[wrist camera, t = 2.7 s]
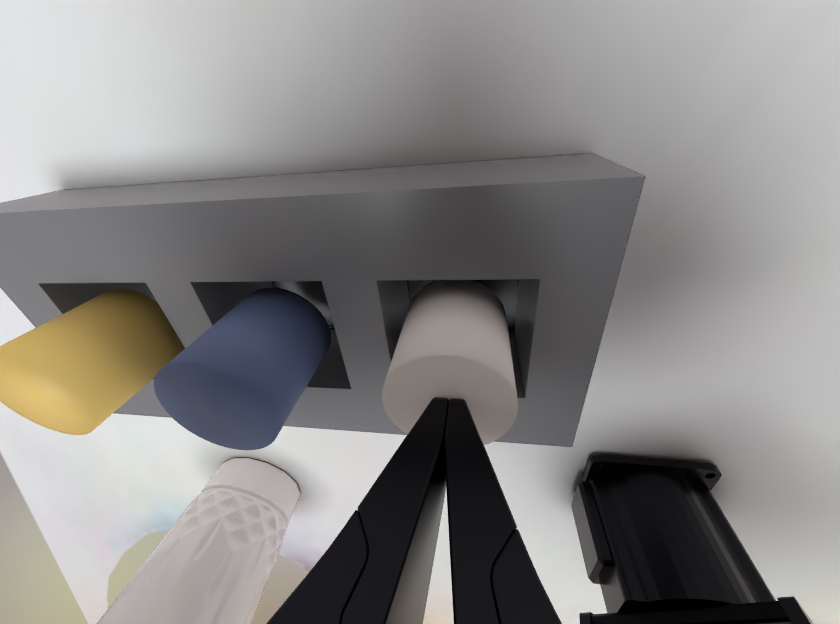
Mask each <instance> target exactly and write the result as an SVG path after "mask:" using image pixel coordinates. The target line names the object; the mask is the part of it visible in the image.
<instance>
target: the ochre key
mask: <svg viewBox="0 0 840 624" xmlns="http://www.w3.org/2000/svg"><path fill="white" fill-rule="evenodd" d="M184 349H185V347H184V345H183V344H182V342H181V340H180V339H179V337H178V335H177V334H176V332H175V330H174V329H173V327H172V325H171V324H170V322H169V320H168V319H167V317H166V315H165V314H164V312H163V311H162V309H161V307H160V306H159V304H158V302H156V301H155V300H153V299H152V298H150V297H148V296H146V295H144V294H142V293H139V292H137V291H133V290H130V289H123V288H116V289H111V290H109V291H107V292H105V293H103V294H101V295H99V296H97V297H95V298H93V299H91V300H89V301H87V302H85V303H83V304H81V305H80V306H78V307H76V308H74V309H72V310H70V311H68V312H66V313H64V314H62V315H60V316H58V317H56V318H54V319H52V320H50V321H48V322H46V323H44V324H43V325H41V326H39V327H37V328H35V329H33V330H31V331H29V332H27V333H25V334H23V335H21V336H19V337H17V338H15V339H13V340H11V341H9V342H7V343H6V344H4V345H2V346H0V401H1V402H2V403H3V404H5V405H6V406H7V407H9V408H10V409H12V410H13V411H15V412H16V413H18V414H20V415H21V416H23V417H25V418H27V419H29V420H31V421H33V422H35V423H37V424H39V425H41V426H44V427H46V428H49V429H51V430H54V431H58V432H61V433H66V434H72V435H84V434H88V433H90V432H91V431H93V430H94V429H95V428H96V427H97V426H99V425H100V424H101V423H102V422H103V421H104V420H106V419H107V418H108V417H109V416H110V415H111V414H113V413H114V412H115V411H116V410H117V409H118V408H120V407H121V406H122V405H123V404H124V403H125V402H127V401H128V400H129V399H130V398H131V397H132V396H134V395H135V394H136V393H137V392H138V391H139V390H141V389H142V388H143V387H144V386H145V385H146V384H148V383H149V382H150V381H151V380H152V379H153V378H155V376H156V374H157V373H158V372H159V371H160V370H161V369H162V368H163V367H164V366H165V365H167V364H168V363H169V362H170V361H171V360H172V359H174V358H175V357H176V356H177V355H178V354H180V353H181V352H182V351H183V350H184Z"/></svg>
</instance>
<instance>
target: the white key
mask: <svg viewBox="0 0 840 624" xmlns="http://www.w3.org/2000/svg"><path fill="white" fill-rule="evenodd" d="M434 397H442V398H448V399H450V398H460V399H464V400H465V401H466V403H467V406H468V408H469V410H470V413H471V415H472V418H473V420H474V423H475V425H476V428H477V430H478V433H479V435H480V437H481V440H482V442H483V445H485V444H488V443H491V442H493V441H495V440H497V439H498V438H500V437H502V436H503V435H504V434H505V433H507V431H508V430H509V429H510V428H511V427H512V425H513V424H514V422H515V420H516V418H517V414H518V400H517V392H516V385H515V378H514V370H513V363H512V356H511V348H510V341H509V333H508V326H507V319H506V313H505V309H504V306H503V304H502V302H501V301H500V299H499V298H498V297H497V295H496V294H495V293H494V292H493V291H491V290H490V289H489V288H488V287H486V286H484V285H482V284H480V283H478V282H476V281H473V280H438V281H435V282H433V283H431V284H429V285H427V286H425V287H424V288H423V289H421V290H420V291H419V292H418V293H417V294H416V295H415V297H414V298H413V300H412V302H411V304H410V306H409V309H408V312H407V316H406V319H405V322H404V325H403V328H402V331H401V334H400V337H399V340H398V343H397V346H396V349H395V352H394V355H393V358H392V361H391V364H390V367H389V370H388V373H387V376H386V379H385V382H384V386H383V389H382V403H383V407H384V410H385V412H386V414H387V415H388V417H389V418H390V420H391V421H392V422H393V423H394V424H395V425H396V426H397V427H398V428H399V429H400V430H401V431H403V432H404V433H405V434H407V435H408V433H409V432H410V430H411V429H412V427H413V426H414V425H415V423H416V422H417V420H418V419H419V417H420V416H421V414H422V413H423V411H424V410H425V409H426V407H427V406H428V404H429V403H430V401H431V400H432V399H433V398H434Z"/></svg>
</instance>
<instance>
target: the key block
mask: <svg viewBox="0 0 840 624" xmlns="http://www.w3.org/2000/svg"><path fill="white" fill-rule="evenodd" d="M644 179H645V176H644V175H641V174H639V173H637V172H635V171H632V170H630V169H628V168H626V167H623V166H621V165H619V164H617V163H614V162H612V161H610V160H608V159H605V158H603V157H601V156H599V155H596V154H594V153H587V154H573V155H558V156H544V157H530V158H515V159H501V160H486V161H472V162H458V163H443V164H429V165H414V166H400V167H385V168H371V169H357V170H342V171H328V172H313V173H299V174H285V175H270V176H256V177H241V178H227V179H213V180H198V181H184V182H169V183H155V184H141V185H126V186H112V187H97V188H83V189H69V190H59V191H55V192H50V193H45V194H41V195H36V196H31V197H27V198H22V199H17V200H12V201H8V202H3V203H0V288H1V289H2V290H3V291H4V292H5V293H6V294H7V296H8V297H9V298H10V299H11V300H12V301H13V302H14V303H15V305H16V306H17V307H18V308H19V309H20V310H21V311H22V313H23V314H24V315H25V316H26V317H27V318H28V319H29V321H30V322H31V323H32V324H33V325H34V326H35V327H36V328H37V327H39V326H41V325H43V324H44V323H46V322H48V321H50V320H52V319H54V318H56V317H58V316H60V315H62V314H64V313H66V312H68V311H70V310H72V309H74V308H76V307H78V306H80V305H81V304H83V303H85V302H87V301H89V300H91V299H93V298H95V297H97V296H99V295H101V294H103V293H105V292H107V291H109V290H111V289H116V288H123V289H130V290H133V291H137V292H139V293H142V294H144V295H146V296H148V297H150V298H152V299H153V300H155V301H156V302H158V304H159V306H160V307H161V309H162V311H163V312H164V314H165V315H166V317H167V319H168V320H169V322H170V324H171V325H172V327H173V329H174V330H175V332H176V334H177V335H178V337H179V339H180V340H181V342H182V344H183V345H184V347H185V348H187V347H188V346H189V345H190V344H191V343H193V342H194V341H195V340H196V339H197V338H198V337H200V336H201V335H202V334H203V333H204V332H205V331H207V330H208V329H209V328H210V327H211V326H213V325H214V324H215V323H216V322H217V321H218V320H220V319H221V318H222V317H223V316H224V315H226V314H227V313H228V312H229V311H230V310H231V309H233V308H234V307H235V306H236V305H237V304H239V303H240V302H241V301H242V300H243V299H244V298H246V297H247V296H248V295H249V294H250V293H252V292H254V291H256V290H258V289H262V288H274V287H273V284H272V281H322V285H323V288H324V292H325V295H326V299H327V303H328V306H329V310H330V313H331V317H332V321H333V324H334V328H335V329H330V333H331V344H330V347H329V350H328V352H327V353H326V355H325V357H324V358H323V360H322V362H321V363H320V365H319V367H318V368H317V370H316V372H315V373H314V375H313V377H312V378H311V380H310V382H309V383H308V385H307V387H306V388H305V390H304V392H303V393H302V395H301V397H300V398H299V400H298V402H297V403H296V405H295V407H294V408H293V410H292V412H291V413H290V415H289V417H288V418H287V420H286V422H285V424H284V425H283V426H293V427H306V428H320V429H333V430H347V431H361V432H374V433H388V434H401V435H407V434H405V433H404V432H403V431H401V430H400V429H399V428H398V427H397V426H396V425H395V424H394V423H393V422H392V421H391V420H390V418H389V417H388V415H387V414H386V412H385V410H384V407H383V403H382V389H383V386H384V382H385V379H386V376H387V373H388V370H389V367H390V364H391V361H392V358H393V355H394V352H395V349H396V346H397V343H398V340H399V337H400V334H401V331H402V328H403V325H404V322H405V319H406V316H407V312H408V309H409V306H410V303H409V294H408V286H407V280H493V279H519V288H518V299H517V310H516V321H515V332H514V333H513V332H508V333H509V341H510V348H511V356H512V363H513V370H514V378H515V385H516V392H517V400H518V414H517V418H516V420H515V422H514V424H513V425H512V427H511V428H510V429H509V430H508V431H507V433H505V434H504V435H503V436H502V437H500V438H498V439H497V440H495V441H496V442H510V443H523V444H537V445H550V446H564V447H572V446H573V442H574V438H575V435H576V431H577V427H578V424H579V420H580V416H581V412H582V409H583V405H584V401H585V398H586V394H587V390H588V387H589V383H590V379H591V375H592V372H593V368H594V364H595V361H596V357H597V353H598V350H599V346H600V342H601V338H602V335H603V331H604V327H605V324H606V320H607V316H608V313H609V309H610V305H611V301H612V298H613V294H614V290H615V287H616V283H617V279H618V276H619V272H620V268H621V264H622V261H623V257H624V253H625V250H626V246H627V242H628V239H629V235H630V231H631V227H632V224H633V220H634V216H635V213H636V209H637V205H638V202H639V198H640V194H641V190H642V187H643V183H644ZM154 379H155V378H153V379H152V380H151V381H150V382H149V383H148V384H146V385H145V386H144V387H143V388H142V389H141V390H139V391H138V392H137V393H136V394H135V395H134V396H132V397H131V398H130V399H129V400H128V401H127V402H125V403H124V404H123V405H122V406H121V407H120V408H118V409H117V410H116V411H115V412H114V413H117V414H130V415H144V416H157V417H171V416H170V415H169V414H168V413H167V412H166V410H165V409H164V408H163V407H162V405H161V404H160V402H159V400H158V398H157V396H156V393H155V390H154ZM171 418H172V417H171Z"/></svg>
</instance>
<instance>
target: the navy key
mask: <svg viewBox="0 0 840 624" xmlns="http://www.w3.org/2000/svg"><path fill="white" fill-rule="evenodd" d="M330 344H331V333H330V329H329V326H328V323H327V322H326V320H325V318H324V316H323V315H322V314H321V312H320V311H319V310H318V309H317V308H316V307H315V306H314V305H313V304H312V303H310V302H309V301H308V300H306V299H305V298H303V297H302V296H300V295H298V294H296V293H294V292H291V291H288V290H285V289H280V288H262V289H258V290H256V291H254V292H252V293H250V294H249V295H248V296H247V297H246V298H244V299H243V300H242V301H241V302H240V303H239V304H237V305H236V306H235V307H234V308H233V309H231V310H230V311H229V312H228V313H227V314H226V315H224V316H223V317H222V318H221V319H220V320H218V321H217V322H216V323H215V324H214V325H213V326H211V327H210V328H209V329H208V330H207V331H205V332H204V333H203V334H202V335H201V336H200V337H198V338H197V339H196V340H195V341H194V342H193V343H191V344H190V345H189V346H188V347H187V348H185V349H184V350H183V351H182V352H181V353H180V354H178V355H177V356H176V357H175V358H174V359H172V360H171V361H170V362H169V363H168V364H167V365H165V366H164V367H163V368H162V369H161V370H160V371H159V372H158V373H157V374H156V376H155V379H154V390H155V393H156V396H157V398H158V400H159V402H160V404H161V405H162V407H163V408H164V409H165V410H166V412H167V413H168V414H169V415H170V416H171V417H172V418H173V419H174V420H176V421H177V422H178V423H179V424H180V425H182V426H183V427H184V428H186V429H187V430H189V431H190V432H192V433H194V434H195V435H197V436H199V437H201V438H203V439H205V440H207V441H210V442H212V443H215V444H217V445H220V446H224V447H228V448H232V449H239V450H255V449H260V448H264V447H266V446H268V445H270V444H271V443H272V442H273V441H274V440H275V439H276V437H277V435H278V434H279V432H280V430H281V429H282V427H283V425H284V424H285V422H286V420H287V418H288V417H289V415H290V413H291V412H292V410H293V408H294V407H295V405H296V403H297V402H298V400H299V398H300V397H301V395H302V393H303V392H304V390H305V388H306V387H307V385H308V383H309V382H310V380H311V378H312V377H313V375H314V373H315V372H316V370H317V368H318V367H319V365H320V363H321V362H322V360H323V358H324V357H325V355H326V353H327V352H328V350H329V347H330Z"/></svg>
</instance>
